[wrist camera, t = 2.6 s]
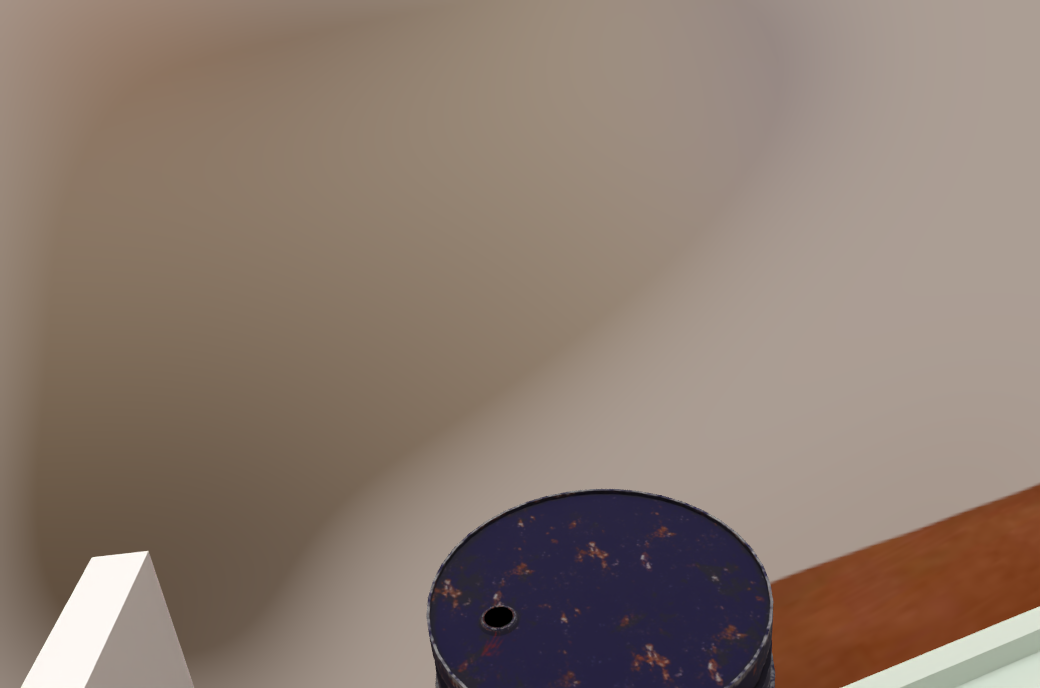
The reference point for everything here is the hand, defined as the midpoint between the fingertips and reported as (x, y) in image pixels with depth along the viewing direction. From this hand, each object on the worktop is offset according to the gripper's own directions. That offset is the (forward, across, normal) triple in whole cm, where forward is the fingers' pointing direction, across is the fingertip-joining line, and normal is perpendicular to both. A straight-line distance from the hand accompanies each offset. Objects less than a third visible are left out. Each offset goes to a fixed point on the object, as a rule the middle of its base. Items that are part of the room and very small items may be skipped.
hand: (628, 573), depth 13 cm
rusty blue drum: (+10, +1, -24) cm, 26 cm away
